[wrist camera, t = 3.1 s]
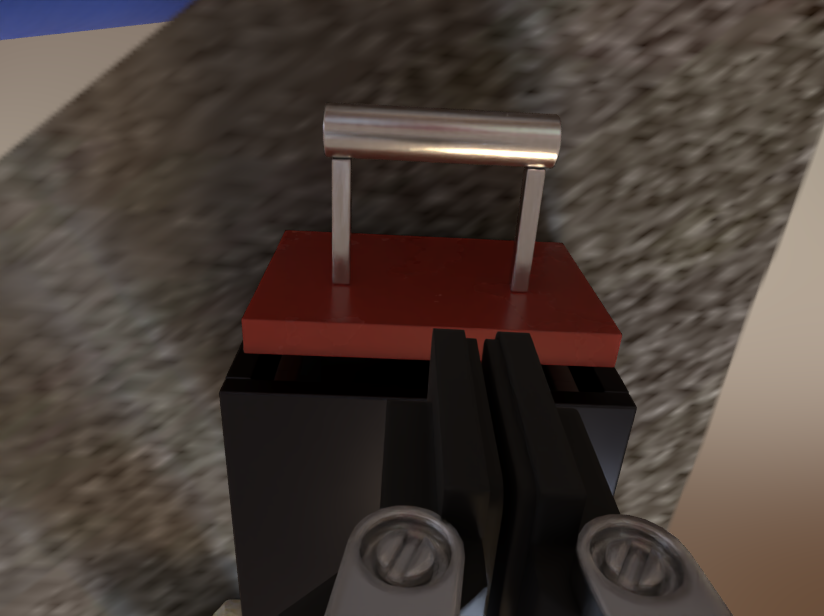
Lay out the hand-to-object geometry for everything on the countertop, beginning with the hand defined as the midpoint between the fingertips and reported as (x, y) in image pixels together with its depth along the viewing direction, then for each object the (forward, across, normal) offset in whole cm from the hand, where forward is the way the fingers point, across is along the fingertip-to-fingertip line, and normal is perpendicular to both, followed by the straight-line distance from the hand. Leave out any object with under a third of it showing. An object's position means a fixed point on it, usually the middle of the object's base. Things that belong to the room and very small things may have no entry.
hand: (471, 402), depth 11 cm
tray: (+15, 0, +6) cm, 16 cm away
